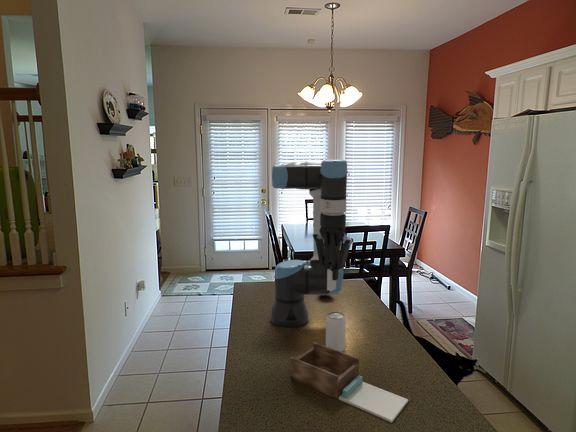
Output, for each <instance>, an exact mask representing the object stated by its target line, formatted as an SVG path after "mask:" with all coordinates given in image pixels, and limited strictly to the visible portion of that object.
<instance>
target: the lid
mask: <svg viewBox="0 0 576 432" xmlns="http://www.w3.org/2000/svg"><path fill="white" fill-rule="evenodd" d="M363 378H364V377H363V376H362V375H360V374H359V375H358V376H357V377H356V378H355V379H354V380H353V381H352V382H351V383H350V384H349V385H347V386H346V387H345V388H344V389H343V394H342V395H341V396H339V398H338V400H339V401H342V402H344V403H346V404H349V405H350V406H353V407H355V408H357V409H360V410H361V411H364V412H367V413H369V414H371V415H373V416H375V417H378V418H380V419H383V420H385V421H387V422H389V423H393V422H394V421H395V420H396V418H397V417H398V416H399V414H400V413H402V411H403V409H404V408H405V406H406V405H407V404H408V402H409V399H408V398H405V397H403V396H402V395H401V396H400V395H398V394H395V393H393V392H391V391H387V390H385V389H382V388H380V387H377V386H374V385H373V384H370V383H367V382H365V381H363Z"/></svg>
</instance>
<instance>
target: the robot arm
mask: <svg viewBox="0 0 576 432" xmlns="http://www.w3.org/2000/svg"><path fill="white" fill-rule="evenodd" d="M348 171H349V170H348V162H347V161H346V160H345V159H323V160H320V161H318V160H317V161H314V160H312V161H311V160H310V161H303V160H302V161H295V162H294V161H293V162H291V163H286V164H282V163H281V164H274V165H272V168H271V184H272V187H273V189H278V190H279V189H281V190H292V189H296V190H308V191H309V192H308V193H309V195H310V196H311V197H312V201H313V202H312V204H313V205H312V206H313V207H312V213H313V214H312V217H313V218H312V219H313V220H312V221H313V223H312V225H313V226H312V227H313V228H312V231H313V234H312V237H313V238H312V239H313V240H312V241H313V256H312V257H311V258H310V259H309V264H305V261H304V260H302V259H289V260H285V261H282V262H279V263H277V265H275V268H274V276H273V279H274V301H273V305H272V308H271V312H270V321H271V323H272V324H274V325H276V326H279V327H284V328H296V327H301V326H303V325H306V324H307V323H308V322H309V311H308V309H307V306H306V302H305V295H307V296H320V295H330V296H335V295H336V296H337V295H338V294H340V292H341V290H342V287H343V282H344V281H343V280H344V268H345V267H346V264H347V263H346V262H347V259H348V256H349V252H350V247H351V245H352V243H354V238H350V237H349V236H348V235H347V231H346V226H347V223H346V222H347V215H346V213H347V183H348V173H349V172H348Z"/></svg>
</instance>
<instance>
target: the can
mask: <svg viewBox="0 0 576 432" xmlns="http://www.w3.org/2000/svg"><path fill="white" fill-rule="evenodd" d="M325 346H327V347H329V348H332V349H335V350H338V351H340V352H343V353H344V351H345V350H346V318H345V314H344V313H342V312H339V311H331V312H329V313H327V315H326V319H325Z"/></svg>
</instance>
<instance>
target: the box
mask: <svg viewBox="0 0 576 432" xmlns="http://www.w3.org/2000/svg"><path fill="white" fill-rule="evenodd" d="M312 344H313V345H312V347H311V348H309V349H308V350H307V351H305V352H303V353H302V354H301V355H299V356H297V357H294V356H290V358H289V359H290V360H289V361H290V363H289V366H290V369H289V371H290V379H292V380H294V381H297V382H299V383H301V384H304V385H305V386H307V387H309V388H312V389H314V390H316V391H319V392H321V393H323V394H325V395H327V396H329V397H331V398H333V399H335V400H337V399H338V400H339V396H341V395H342V394H343V389H344V388H345V387H346V386H347V385H349V384H350V383H351V382H352V381H353V380H354V379H355V378H356V377H357V376H358V375H360V358H359V357H356V356H354V355H351V354H348V353H346V352H344V351H343V352H340V351H338V350H335V349H332V348H329V347H327V346H326V345H323V344H320V343H318V342H316V341H314V342H313V343H312Z"/></svg>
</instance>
